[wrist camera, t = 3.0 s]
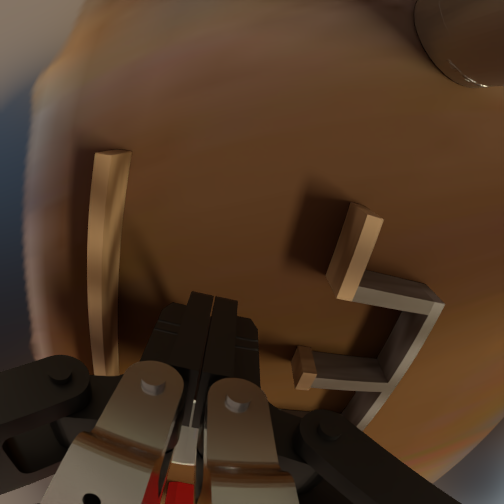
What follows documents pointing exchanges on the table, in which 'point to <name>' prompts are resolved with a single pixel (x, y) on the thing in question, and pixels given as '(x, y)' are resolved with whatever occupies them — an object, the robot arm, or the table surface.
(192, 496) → the book
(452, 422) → the table surface
